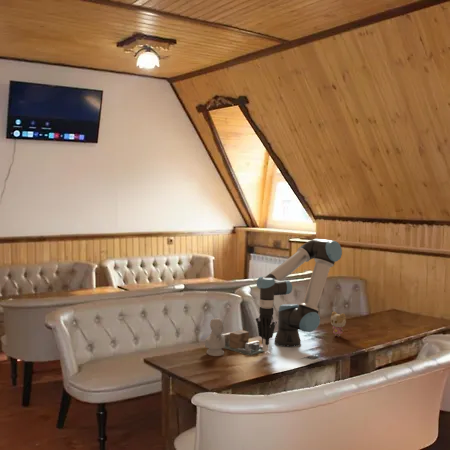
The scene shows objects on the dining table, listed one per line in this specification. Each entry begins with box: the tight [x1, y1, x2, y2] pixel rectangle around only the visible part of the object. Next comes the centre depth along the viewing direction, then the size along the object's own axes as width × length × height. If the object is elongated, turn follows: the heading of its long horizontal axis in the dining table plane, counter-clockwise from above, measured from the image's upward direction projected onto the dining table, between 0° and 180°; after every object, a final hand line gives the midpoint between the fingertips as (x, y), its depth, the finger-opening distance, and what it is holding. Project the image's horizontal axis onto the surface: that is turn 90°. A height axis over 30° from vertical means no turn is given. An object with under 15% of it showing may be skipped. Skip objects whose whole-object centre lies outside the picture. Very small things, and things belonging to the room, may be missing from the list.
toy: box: [330, 311, 347, 338], centre depth 364 cm, size 10×8×15 cm
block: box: [229, 329, 250, 349], centre depth 329 cm, size 9×6×8 cm, turn 137°
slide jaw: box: [245, 340, 261, 351], centre depth 322 cm, size 10×4×4 cm, turn 137°
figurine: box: [204, 317, 225, 357], centre depth 317 cm, size 9×13×20 cm
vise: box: [221, 332, 265, 356], centre depth 328 cm, size 12×22×7 cm, turn 47°
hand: (265, 350), depth 316 cm, fingers closed
